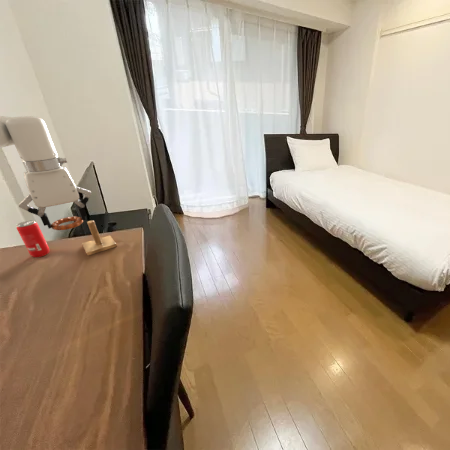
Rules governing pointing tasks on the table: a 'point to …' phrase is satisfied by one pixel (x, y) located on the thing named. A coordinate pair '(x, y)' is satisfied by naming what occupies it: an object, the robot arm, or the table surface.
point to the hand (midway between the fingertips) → (67, 222)
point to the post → (97, 241)
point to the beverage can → (33, 238)
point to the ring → (57, 223)
